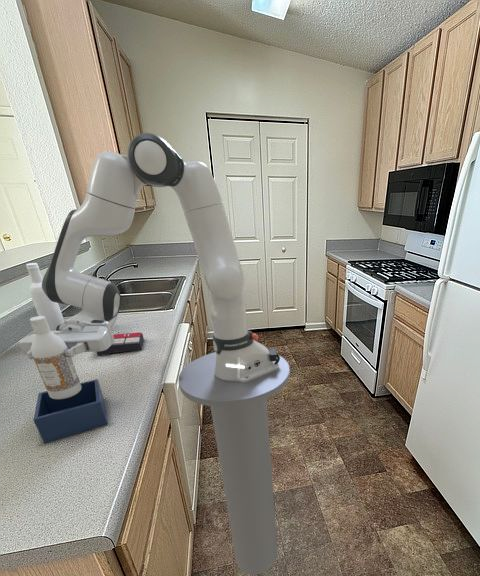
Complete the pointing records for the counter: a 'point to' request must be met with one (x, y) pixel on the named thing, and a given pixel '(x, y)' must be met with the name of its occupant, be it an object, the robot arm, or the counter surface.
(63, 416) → the blue storage bin
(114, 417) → the counter surface
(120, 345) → the red white black box
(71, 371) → the bath foam
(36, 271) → the bottle
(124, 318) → the counter surface
